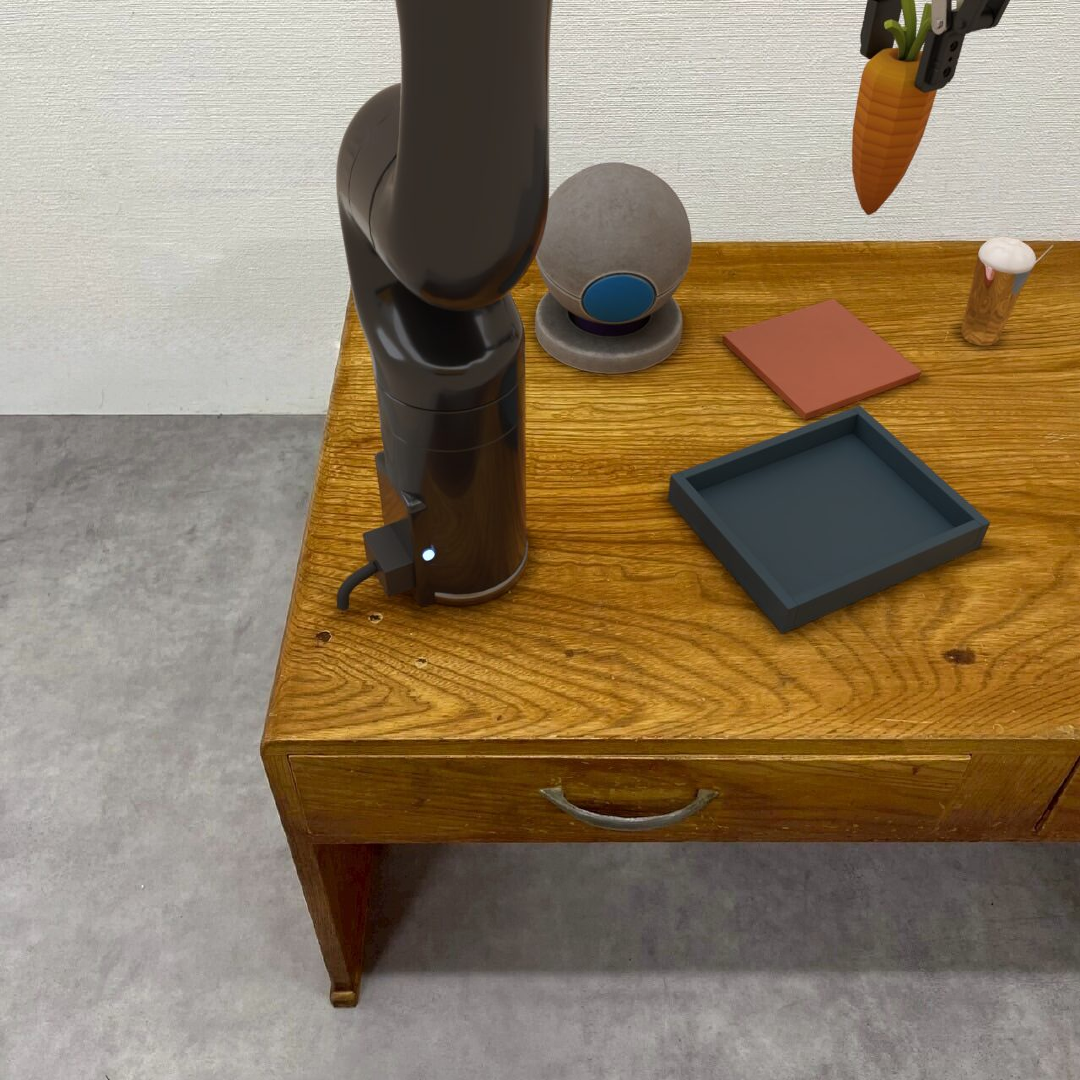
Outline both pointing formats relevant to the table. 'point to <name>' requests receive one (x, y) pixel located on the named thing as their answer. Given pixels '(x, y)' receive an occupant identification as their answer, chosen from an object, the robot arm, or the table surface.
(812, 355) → the tile
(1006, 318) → the milkshake
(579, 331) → the webcam
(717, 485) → the tray
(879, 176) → the carrot
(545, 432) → the table surface
